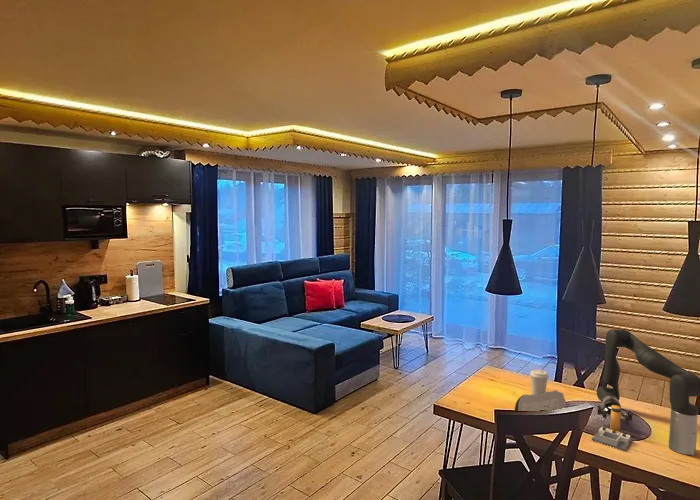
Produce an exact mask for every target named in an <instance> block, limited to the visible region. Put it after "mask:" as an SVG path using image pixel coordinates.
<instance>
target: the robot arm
mask: <svg viewBox="0 0 700 500" xmlns="http://www.w3.org/2000/svg"><path fill="white" fill-rule="evenodd" d="M617 348H624V349H627V350H629V351H631V352H632V353H634V356H635V358H636V360H637V362H638V363H639V364H640V365H641V366H643V367H644V368H646V369H647V370H648V371H650V372H652V373H654V374H656V375H660V376H662V377H664V378H668V379H670V380H669V402H670V419H669V431H668V432H669V434H668V448H669V449H670V450H672V451H673V452H676V453H679V454H681V455H686V456H692V457H694V456H695V454H696V451H697V442H698V441H697V439H698V415H699V409H698V407H697V405H695V404H693V403H691V402H690V398H691V397H699V396H700V377H699V376H698V375H697V374H695V373H692V372H691V371H689V370H687V369H685V368H683V367H681V366H680V365H678V364H676V363H675V362H673V361H672V360H670V359H668V358H667V357H666V356H664V355H662V354H661V353H659V352H658V351H657V350H655V349H653V348H652V347H650V346H649V345H647V344H645V343H644V342H643V341H641V340H640V339H639V338H638V337H637V336H635V335H634V334H633V333H632V332H631V331H629V330H626V329H616V328H615V329H614V328H613V329H609V330H608V331H607V332H606V335H605V366H604V372H603V376H602V380H603V382H604V384H606V385H608V386H611V387H607V386H599V387H597V389H596V396H597V398H598V400H599V401H600V402H602V406H601V405H599V404H598V405H597V407H596V408H597V409H596V411H597V415H598V416H602V418H604V420H607V417H609V416H610V417H611V406H612V405H617V406H620V407H621V419H622V420H624V422H625V423H626V424H627V423H629V422H630V421H633V414H632V411H631V410H629V409H628V410H626V411H625V410H624V409H622V405H621V403H620V401H619V400H620V398H621V396H620V390H619V381H620V374H621V368H620V365H619V362H618V359H617V356H616V353H617V352H616V351H617Z"/></svg>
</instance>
